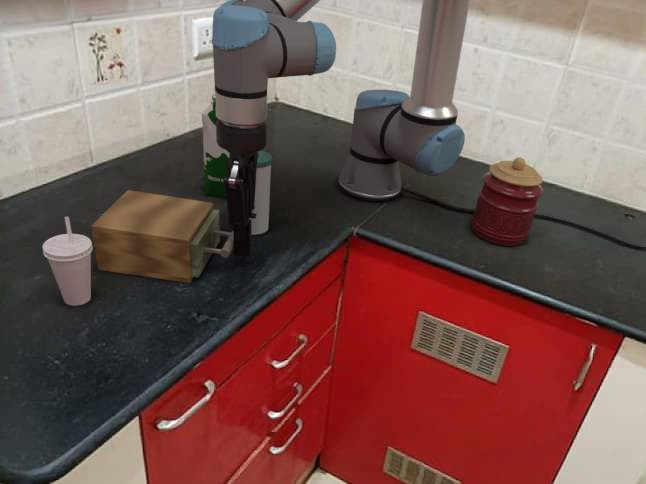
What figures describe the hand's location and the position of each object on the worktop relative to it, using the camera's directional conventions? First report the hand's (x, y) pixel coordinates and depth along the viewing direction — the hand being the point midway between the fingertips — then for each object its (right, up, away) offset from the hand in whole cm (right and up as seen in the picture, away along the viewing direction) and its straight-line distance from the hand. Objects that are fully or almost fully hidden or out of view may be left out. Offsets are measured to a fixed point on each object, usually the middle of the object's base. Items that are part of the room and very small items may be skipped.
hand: (242, 253), depth 97 cm
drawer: (-11, 0, +1) cm, 11 cm away
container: (-2, +6, +14) cm, 15 cm away
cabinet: (-15, 0, +1) cm, 15 cm away
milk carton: (-10, +15, +26) cm, 31 cm away
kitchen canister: (+51, +6, +28) cm, 58 cm away
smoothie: (-23, -8, -11) cm, 26 cm away
